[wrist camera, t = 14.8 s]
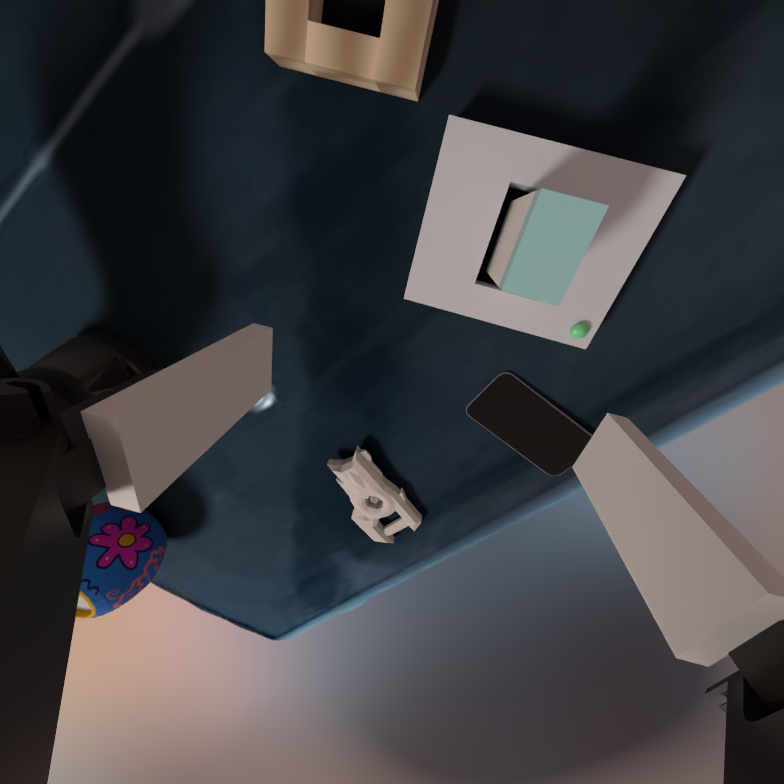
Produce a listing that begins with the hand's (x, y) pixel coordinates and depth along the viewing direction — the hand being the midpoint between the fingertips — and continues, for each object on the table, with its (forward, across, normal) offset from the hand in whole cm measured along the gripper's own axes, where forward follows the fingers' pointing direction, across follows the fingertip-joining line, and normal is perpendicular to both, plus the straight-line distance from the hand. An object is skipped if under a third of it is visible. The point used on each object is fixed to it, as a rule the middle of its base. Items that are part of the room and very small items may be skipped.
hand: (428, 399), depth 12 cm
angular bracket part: (+24, +1, +31) cm, 39 cm away
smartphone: (+23, -15, +12) cm, 30 cm away
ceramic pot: (+25, +43, +54) cm, 73 cm away
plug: (+23, -6, -6) cm, 24 cm away
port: (+23, -6, -6) cm, 24 cm away
